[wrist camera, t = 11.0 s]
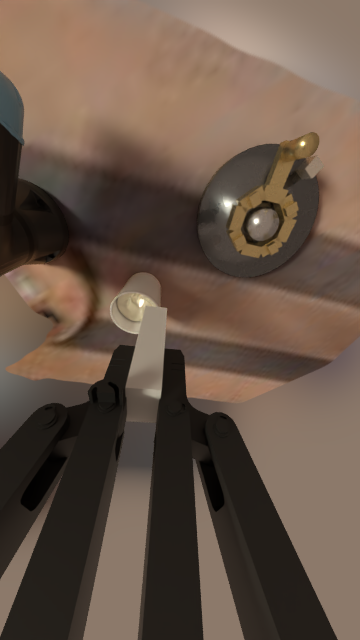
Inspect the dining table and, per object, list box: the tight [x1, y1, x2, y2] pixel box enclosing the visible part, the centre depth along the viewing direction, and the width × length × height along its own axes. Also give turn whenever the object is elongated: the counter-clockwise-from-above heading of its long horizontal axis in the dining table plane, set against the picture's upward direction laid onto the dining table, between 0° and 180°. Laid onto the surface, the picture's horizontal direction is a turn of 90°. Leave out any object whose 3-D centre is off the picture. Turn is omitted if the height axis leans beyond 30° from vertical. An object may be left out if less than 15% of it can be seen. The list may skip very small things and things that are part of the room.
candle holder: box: [110, 272, 161, 334], centre depth 42 cm, size 10×10×12 cm
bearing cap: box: [197, 144, 324, 277], centre depth 36 cm, size 22×22×7 cm
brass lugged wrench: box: [226, 132, 319, 258], centre depth 31 cm, size 17×11×7 cm, turn 168°
